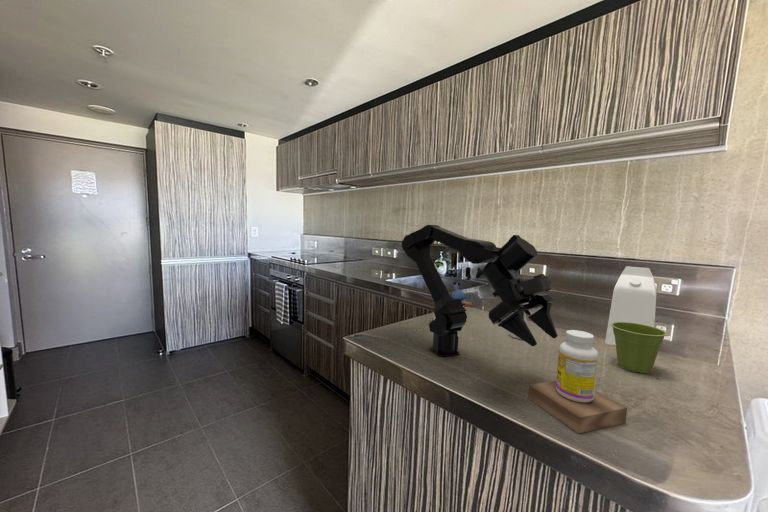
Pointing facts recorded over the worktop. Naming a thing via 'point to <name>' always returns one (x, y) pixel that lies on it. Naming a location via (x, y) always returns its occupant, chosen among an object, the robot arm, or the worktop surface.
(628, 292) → the milk
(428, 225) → the robot arm
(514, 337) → the flask
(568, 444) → the worktop surface
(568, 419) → the walnut base block
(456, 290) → the model
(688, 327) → the worktop surface
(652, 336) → the plant pot
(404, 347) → the worktop surface
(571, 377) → the supplement bottle
